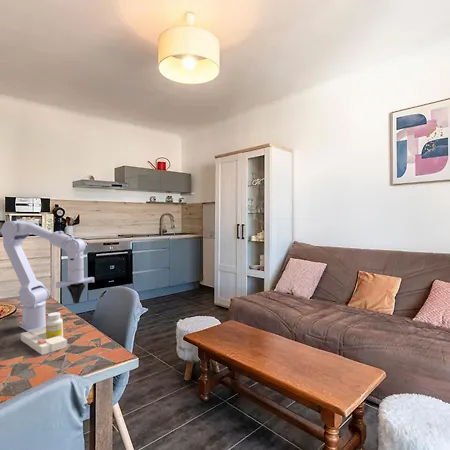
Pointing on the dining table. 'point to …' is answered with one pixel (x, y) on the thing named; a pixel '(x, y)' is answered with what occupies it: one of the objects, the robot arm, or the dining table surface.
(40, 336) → the socket dock
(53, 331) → the supplement bottle
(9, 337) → the dining table surface
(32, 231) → the robot arm
